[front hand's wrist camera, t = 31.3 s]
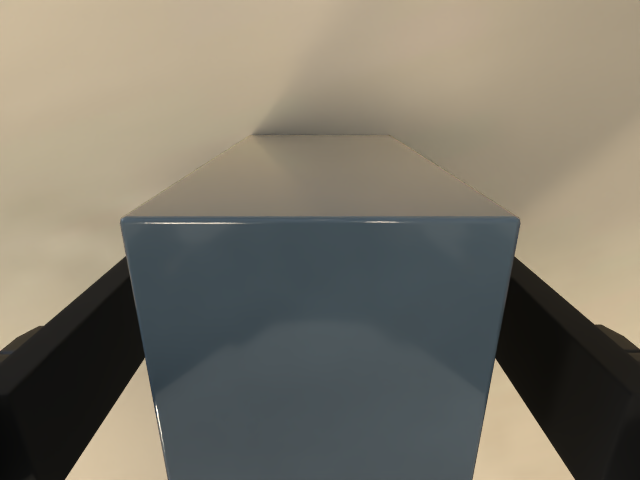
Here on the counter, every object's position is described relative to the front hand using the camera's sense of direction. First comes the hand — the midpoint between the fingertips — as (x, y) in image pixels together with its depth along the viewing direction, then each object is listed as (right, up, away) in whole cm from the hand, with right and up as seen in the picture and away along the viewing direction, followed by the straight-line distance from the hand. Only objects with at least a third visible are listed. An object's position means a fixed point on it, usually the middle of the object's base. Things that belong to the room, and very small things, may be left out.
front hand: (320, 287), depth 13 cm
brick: (0, +1, +4) cm, 4 cm away
